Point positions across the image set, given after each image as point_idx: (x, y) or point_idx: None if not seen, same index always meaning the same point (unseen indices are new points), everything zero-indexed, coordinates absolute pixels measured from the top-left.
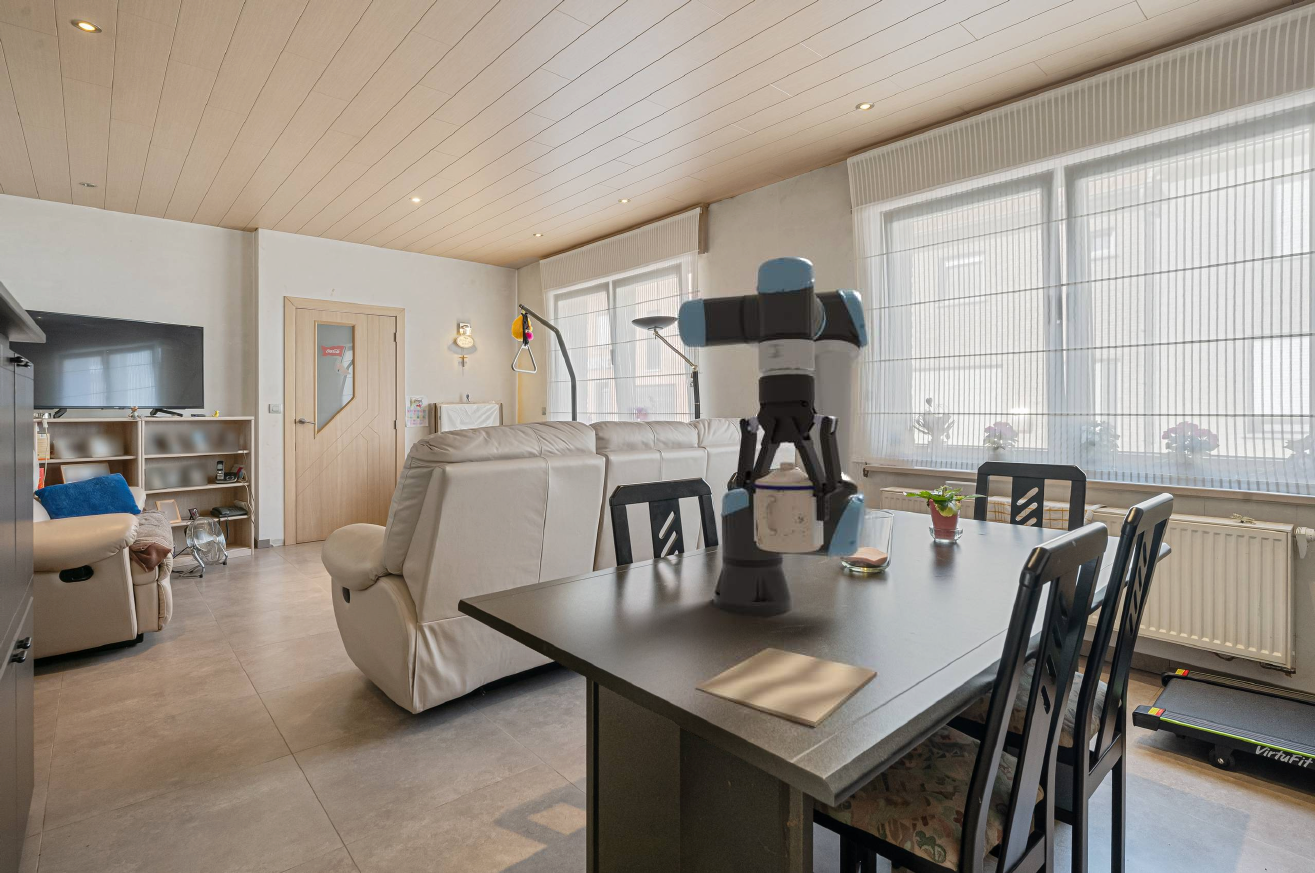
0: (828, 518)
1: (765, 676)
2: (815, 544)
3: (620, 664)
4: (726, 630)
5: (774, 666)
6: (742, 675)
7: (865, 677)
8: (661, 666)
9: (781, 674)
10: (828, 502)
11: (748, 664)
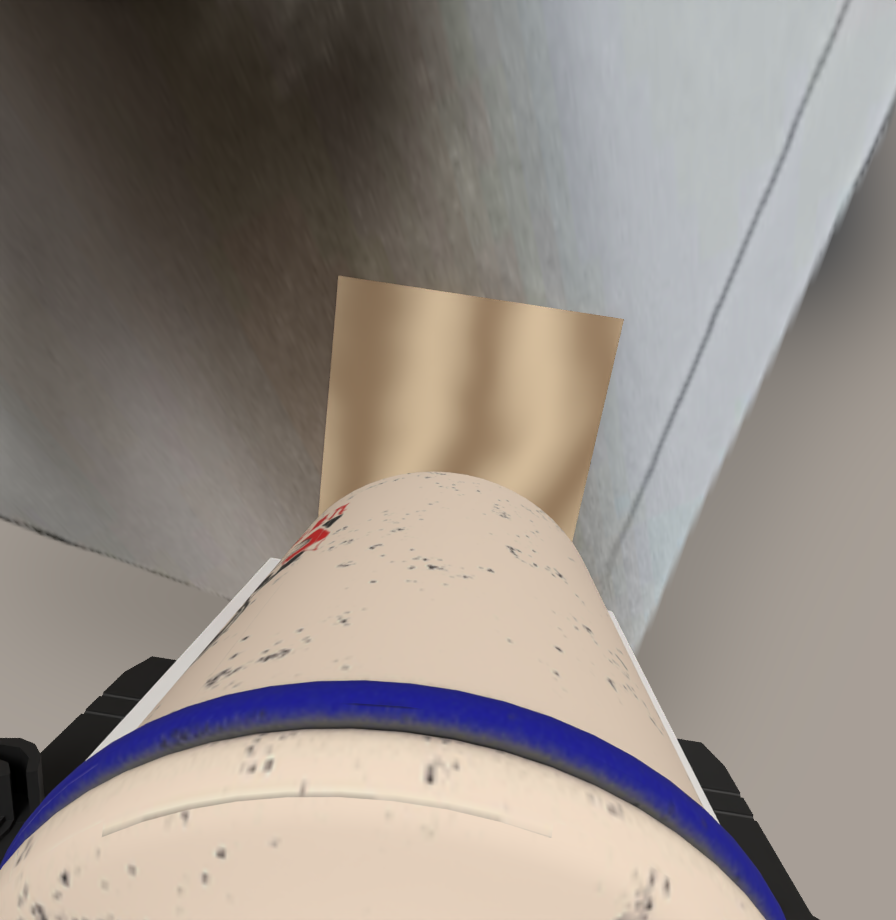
0: (710, 752)
1: (406, 467)
2: None
3: (108, 516)
4: (158, 151)
5: (401, 401)
6: (362, 482)
7: (604, 372)
8: (184, 488)
9: (432, 440)
10: (781, 881)
11: (345, 417)
